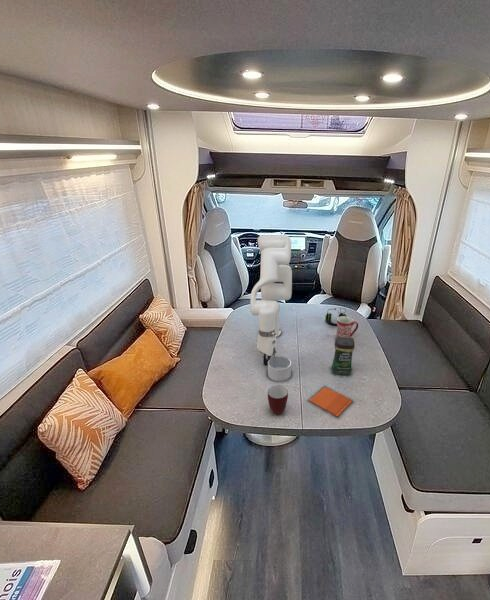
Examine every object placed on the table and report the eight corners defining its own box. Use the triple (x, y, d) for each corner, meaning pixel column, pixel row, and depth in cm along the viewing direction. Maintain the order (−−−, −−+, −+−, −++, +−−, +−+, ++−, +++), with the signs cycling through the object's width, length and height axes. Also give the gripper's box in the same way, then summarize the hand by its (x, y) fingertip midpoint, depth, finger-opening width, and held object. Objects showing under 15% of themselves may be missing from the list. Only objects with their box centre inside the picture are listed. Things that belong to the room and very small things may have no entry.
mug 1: (266, 400, 134) (267, 381, 130) (285, 399, 135) (286, 381, 131) (268, 419, 124) (268, 399, 120) (288, 417, 125) (289, 398, 121)
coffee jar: (332, 375, 152) (335, 342, 144) (331, 365, 159) (334, 333, 152) (352, 376, 151) (356, 343, 144) (350, 366, 158) (354, 335, 151)
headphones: (346, 302, 210) (354, 315, 192) (345, 315, 214) (353, 329, 195) (323, 302, 208) (329, 316, 190) (322, 315, 212) (328, 329, 194)
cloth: (309, 400, 135) (309, 399, 134) (325, 387, 143) (325, 386, 143) (337, 416, 126) (337, 415, 126) (352, 401, 135) (352, 400, 135)
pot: (263, 374, 151) (262, 363, 148) (278, 364, 159) (278, 353, 156) (280, 384, 144) (280, 372, 142) (295, 373, 152) (296, 362, 150)
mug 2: (336, 344, 178) (339, 323, 173) (333, 336, 187) (335, 316, 181) (358, 344, 179) (361, 323, 174) (354, 336, 188) (356, 316, 182)
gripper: (283, 334, 147) (282, 367, 154) (261, 324, 156) (261, 355, 163) (272, 340, 141) (272, 373, 148) (250, 329, 150) (250, 361, 157)
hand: (266, 364), depth 155 cm, fingers closed
